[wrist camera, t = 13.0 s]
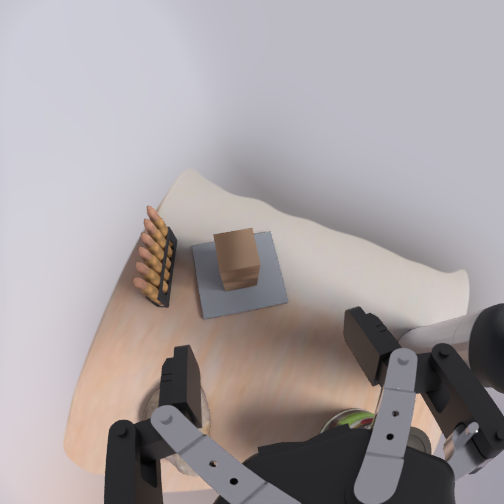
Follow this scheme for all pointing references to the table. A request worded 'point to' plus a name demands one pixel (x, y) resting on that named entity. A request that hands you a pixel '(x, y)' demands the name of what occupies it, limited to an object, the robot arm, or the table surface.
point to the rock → (206, 425)
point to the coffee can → (364, 420)
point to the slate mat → (243, 299)
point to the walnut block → (237, 259)
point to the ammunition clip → (156, 260)
